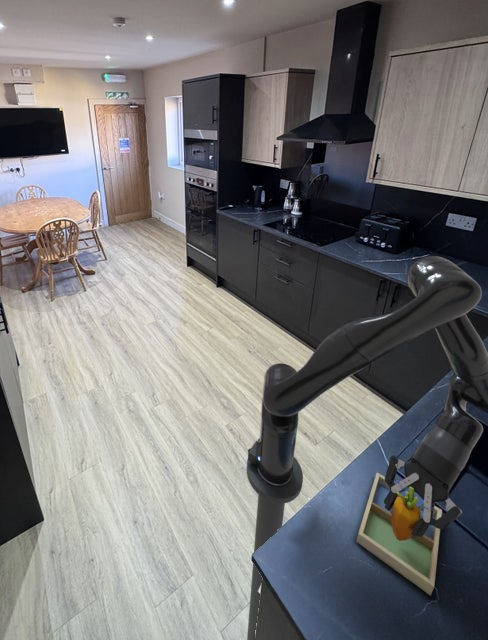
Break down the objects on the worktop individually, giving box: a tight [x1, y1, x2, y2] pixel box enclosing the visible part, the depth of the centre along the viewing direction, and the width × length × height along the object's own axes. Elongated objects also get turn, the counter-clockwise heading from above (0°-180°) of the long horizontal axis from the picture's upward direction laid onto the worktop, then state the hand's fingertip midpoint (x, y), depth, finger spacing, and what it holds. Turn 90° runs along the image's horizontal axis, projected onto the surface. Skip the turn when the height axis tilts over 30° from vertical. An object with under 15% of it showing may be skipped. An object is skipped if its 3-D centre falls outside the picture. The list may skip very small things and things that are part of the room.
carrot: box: [391, 487, 421, 541], centre depth 70 cm, size 5×5×15 cm
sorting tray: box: [356, 472, 443, 596], centre depth 76 cm, size 14×18×3 cm
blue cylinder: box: [390, 479, 424, 514], centre depth 78 cm, size 6×6×7 cm
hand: (400, 521), depth 69 cm, fingers closed on carrot, 5 cm apart
